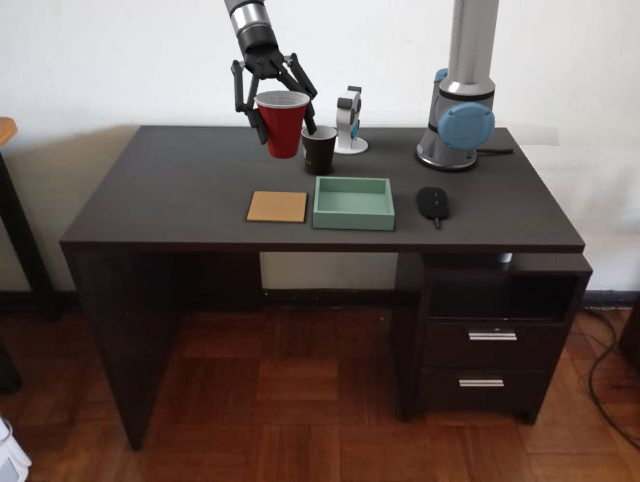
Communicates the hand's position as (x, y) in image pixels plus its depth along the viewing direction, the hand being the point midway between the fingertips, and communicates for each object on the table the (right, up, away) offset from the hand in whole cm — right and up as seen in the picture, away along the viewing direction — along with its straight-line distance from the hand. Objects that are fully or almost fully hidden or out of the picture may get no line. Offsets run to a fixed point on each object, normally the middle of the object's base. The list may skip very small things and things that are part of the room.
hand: (289, 137), depth 99 cm
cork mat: (-3, -13, +13) cm, 18 cm away
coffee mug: (+6, -2, +29) cm, 29 cm away
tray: (+13, -13, +12) cm, 22 cm away
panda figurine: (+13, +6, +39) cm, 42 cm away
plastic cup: (-2, -2, +5) cm, 6 cm away
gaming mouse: (+31, -14, +13) cm, 36 cm away
